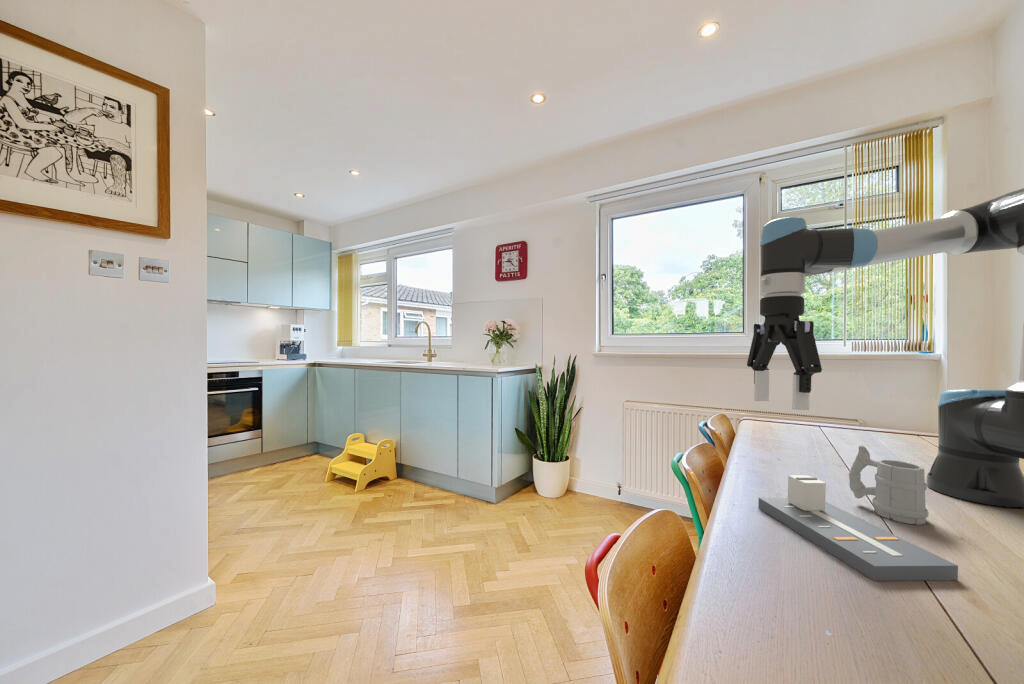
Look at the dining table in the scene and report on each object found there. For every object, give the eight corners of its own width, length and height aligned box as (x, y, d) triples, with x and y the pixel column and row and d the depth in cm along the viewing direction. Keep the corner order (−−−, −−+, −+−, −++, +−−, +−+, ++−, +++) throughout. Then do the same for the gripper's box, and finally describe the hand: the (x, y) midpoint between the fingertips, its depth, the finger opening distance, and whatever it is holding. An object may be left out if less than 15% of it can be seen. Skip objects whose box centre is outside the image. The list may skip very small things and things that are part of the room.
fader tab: (807, 501, 76) (808, 474, 76) (825, 510, 73) (825, 481, 72) (787, 501, 76) (788, 474, 76) (803, 510, 72) (804, 481, 72)
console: (817, 507, 79) (817, 497, 79) (957, 580, 55) (958, 564, 55) (758, 507, 79) (758, 496, 79) (874, 580, 55) (874, 565, 55)
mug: (918, 529, 71) (920, 461, 71) (839, 504, 81) (840, 445, 81) (935, 520, 74) (937, 456, 74) (857, 498, 85) (858, 441, 85)
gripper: (730, 301, 93) (728, 396, 93) (808, 288, 70) (805, 415, 70) (761, 302, 93) (760, 397, 93) (849, 289, 70) (847, 415, 70)
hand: (779, 404), depth 82 cm, fingers open, 10 cm apart
